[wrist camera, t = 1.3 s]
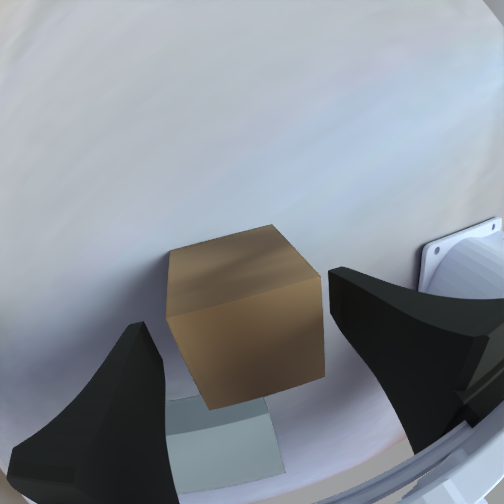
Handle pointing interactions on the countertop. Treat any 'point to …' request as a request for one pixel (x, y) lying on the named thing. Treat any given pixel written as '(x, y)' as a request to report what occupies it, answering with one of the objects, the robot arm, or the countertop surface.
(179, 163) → the countertop surface
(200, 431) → the base slab
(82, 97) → the countertop surface
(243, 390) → the walnut block
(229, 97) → the countertop surface
